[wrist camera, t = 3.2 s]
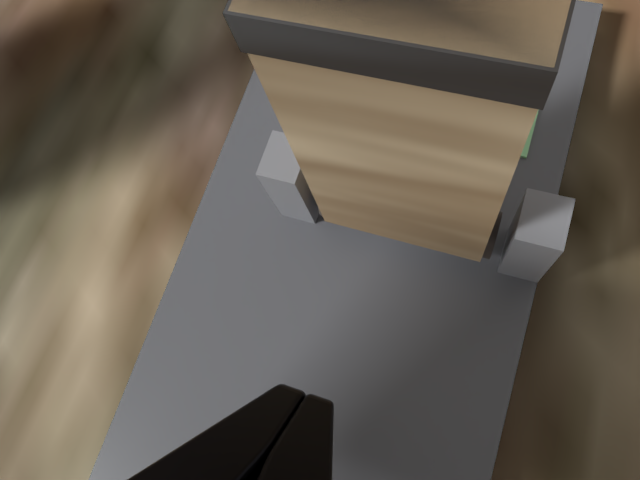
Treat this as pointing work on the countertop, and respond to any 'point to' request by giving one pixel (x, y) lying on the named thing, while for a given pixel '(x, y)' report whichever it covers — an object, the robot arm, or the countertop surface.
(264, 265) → the base
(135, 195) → the countertop surface
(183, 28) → the countertop surface
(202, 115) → the countertop surface
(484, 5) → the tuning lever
